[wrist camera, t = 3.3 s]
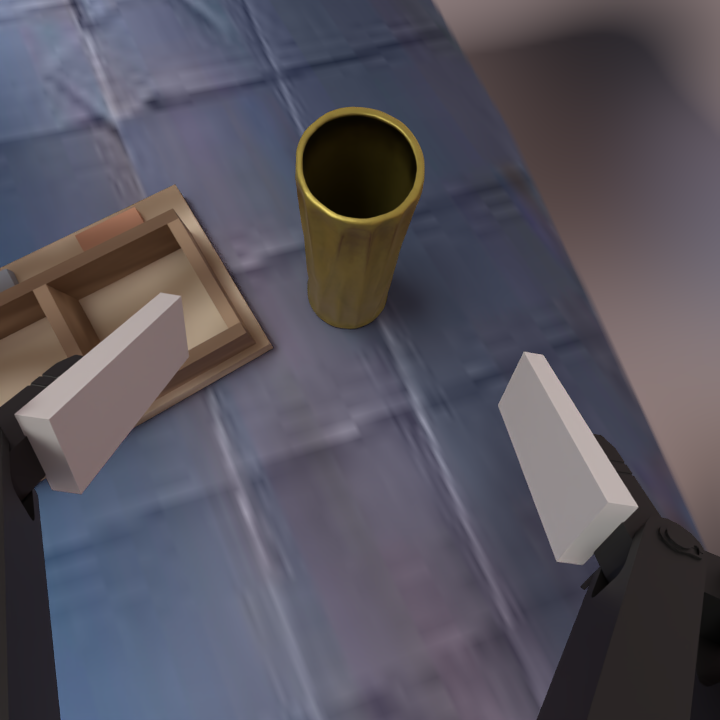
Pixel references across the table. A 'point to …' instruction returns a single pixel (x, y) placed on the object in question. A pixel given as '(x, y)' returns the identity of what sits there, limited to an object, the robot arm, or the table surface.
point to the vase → (355, 209)
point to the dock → (125, 297)
